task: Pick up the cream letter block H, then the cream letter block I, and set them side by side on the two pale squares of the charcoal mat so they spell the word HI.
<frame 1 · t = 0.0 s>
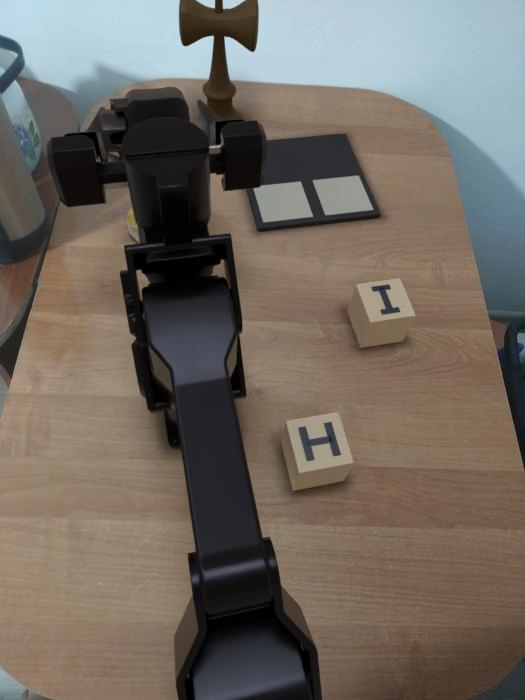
hand: (151, 107, 54), 17 cm above the table, tool horizontal, fingers open, 9 cm apart
letter I: (374, 326, 63), on the table
kendama: (219, 121, 80), on the table
donut: (137, 142, 77), on the table
letter H: (311, 461, 54), on the table
word mat: (304, 180, 74), on the table
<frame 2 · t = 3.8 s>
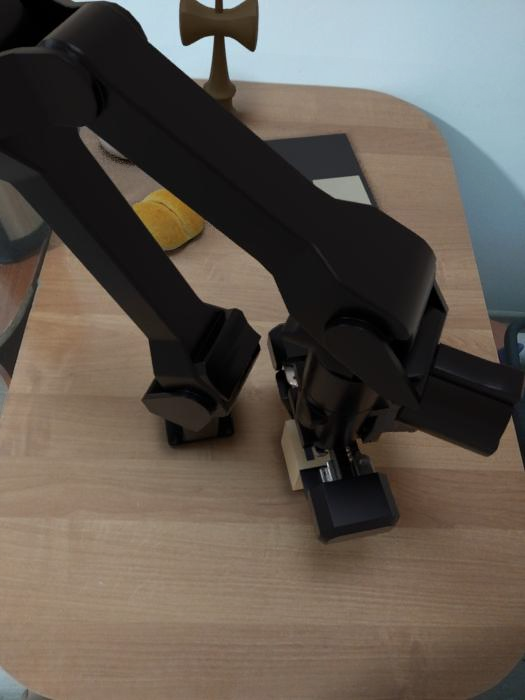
hand: (313, 457, 53), 1 cm above the table, tool pointing down, fingers closed on letter H, 5 cm apart
letter H: (311, 461, 54), on the table, touching gripper
everything else where it was.
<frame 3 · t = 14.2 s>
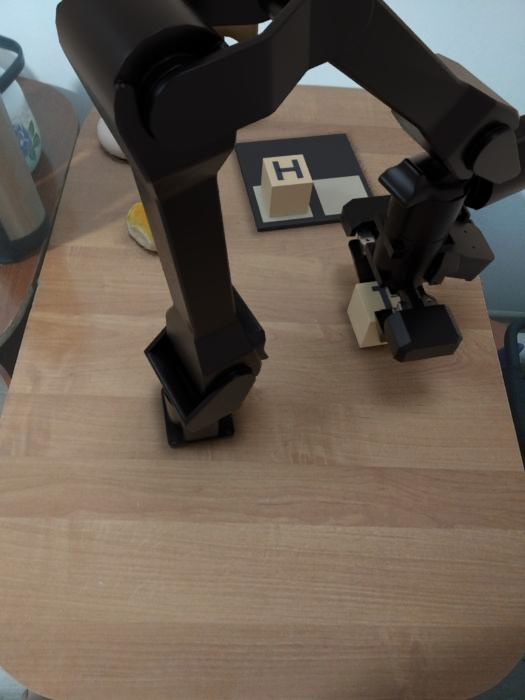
hand: (376, 321, 62), 1 cm above the table, tool pointing down, fingers closed on letter I, 5 cm apart
letter I: (374, 326, 63), on the table, touching gripper
letter H: (283, 201, 71), point 1 cm above the table, touching word mat
everything else where it was.
when the fingers open (2 cm above the table, at t = 19.3 s): letter I stays where it is, resting on word mat.
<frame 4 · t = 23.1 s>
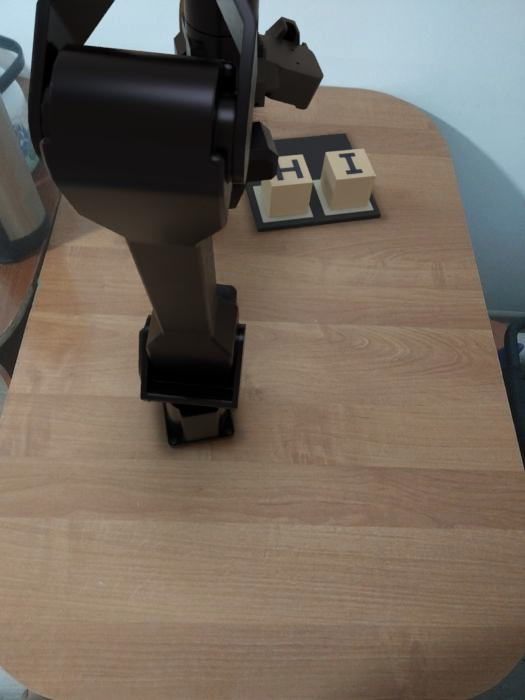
hand: (222, 175, 57), 12 cm above the table, tool pointing down, fingers open, 9 cm apart
letter I: (343, 194, 72), point 1 cm above the table, touching word mat
everything else where it was.
at the end: letter H 0.2 cm from the target spot on the word mat, point 0.7 cm above the word mat's base; letter I 0.1 cm from the target spot on the word mat, point 0.7 cm above the word mat's base; letter I tilted 0° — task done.
